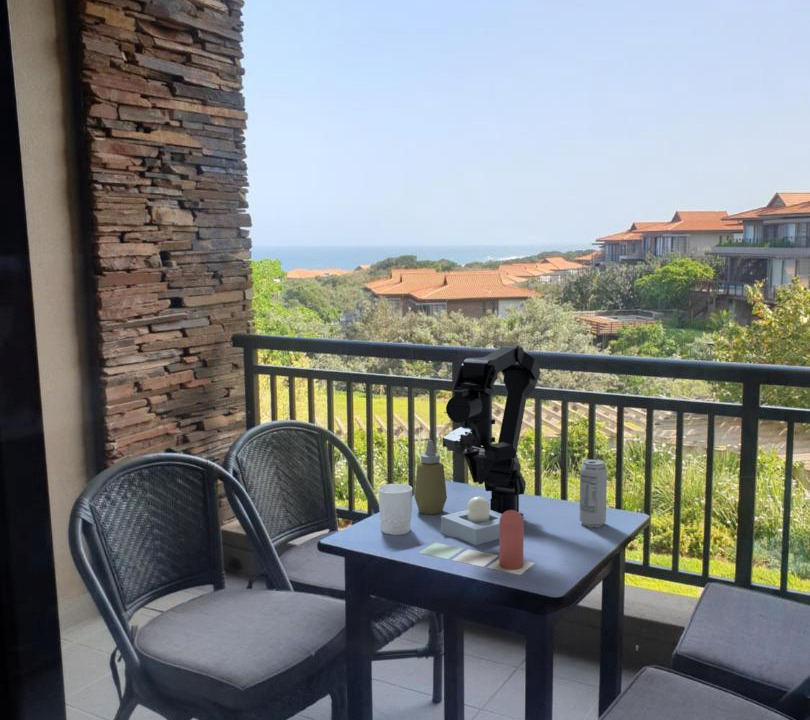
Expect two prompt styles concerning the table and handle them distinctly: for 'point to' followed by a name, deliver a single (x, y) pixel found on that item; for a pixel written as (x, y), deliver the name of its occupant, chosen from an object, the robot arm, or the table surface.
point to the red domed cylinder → (511, 540)
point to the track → (470, 557)
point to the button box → (471, 527)
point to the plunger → (478, 510)
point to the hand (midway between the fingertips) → (478, 483)
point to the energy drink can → (593, 493)
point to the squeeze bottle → (430, 482)
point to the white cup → (395, 508)
